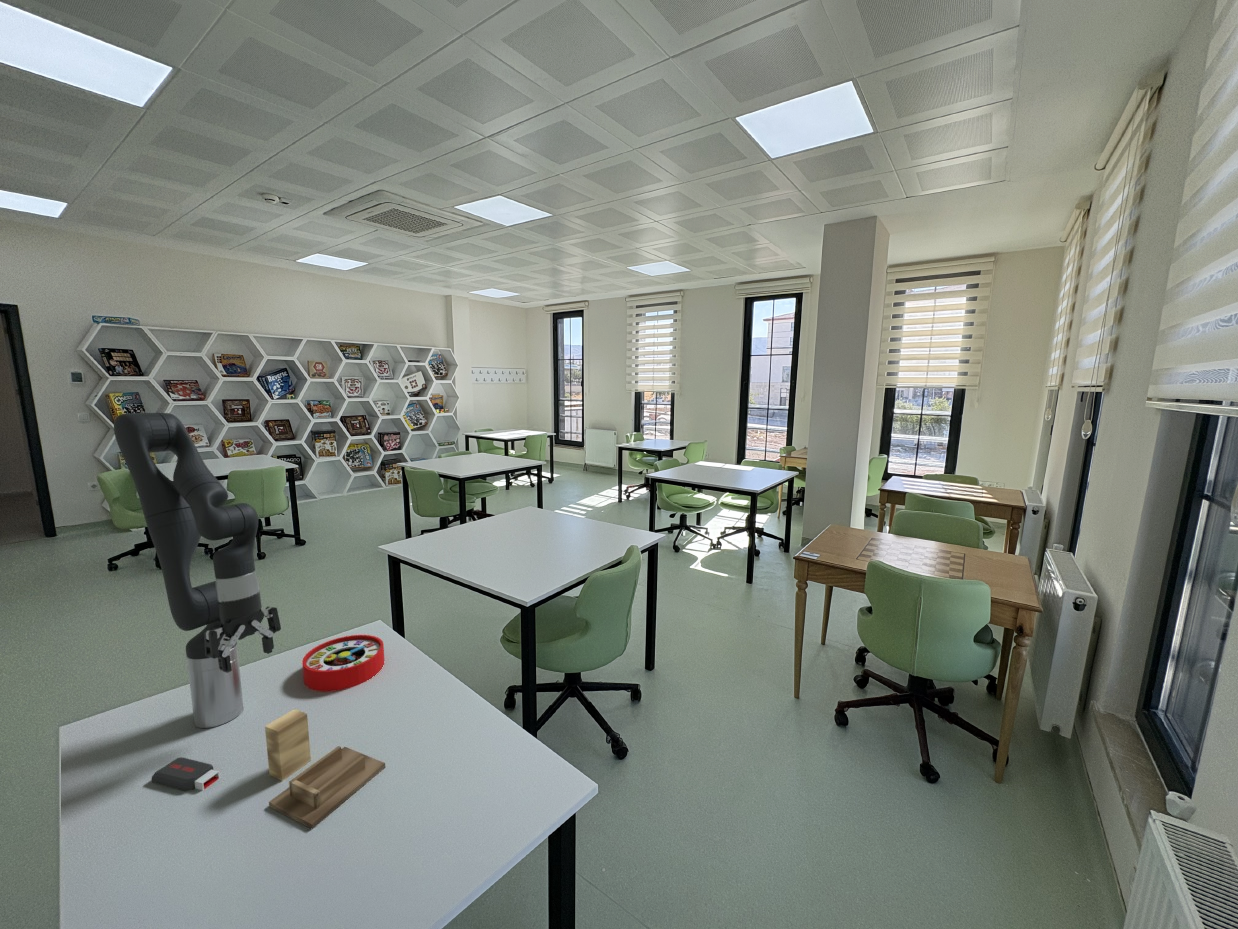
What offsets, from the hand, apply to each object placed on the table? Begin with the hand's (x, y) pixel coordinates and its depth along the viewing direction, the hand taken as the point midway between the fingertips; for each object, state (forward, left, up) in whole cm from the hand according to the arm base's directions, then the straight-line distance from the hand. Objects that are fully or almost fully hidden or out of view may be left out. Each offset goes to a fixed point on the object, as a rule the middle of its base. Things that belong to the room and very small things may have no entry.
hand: (248, 661), depth 110 cm
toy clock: (-3, +26, -18) cm, 32 cm away
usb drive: (+3, -14, -18) cm, 23 cm away
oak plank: (+19, -4, -17) cm, 26 cm away
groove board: (+31, -4, -17) cm, 35 cm away
